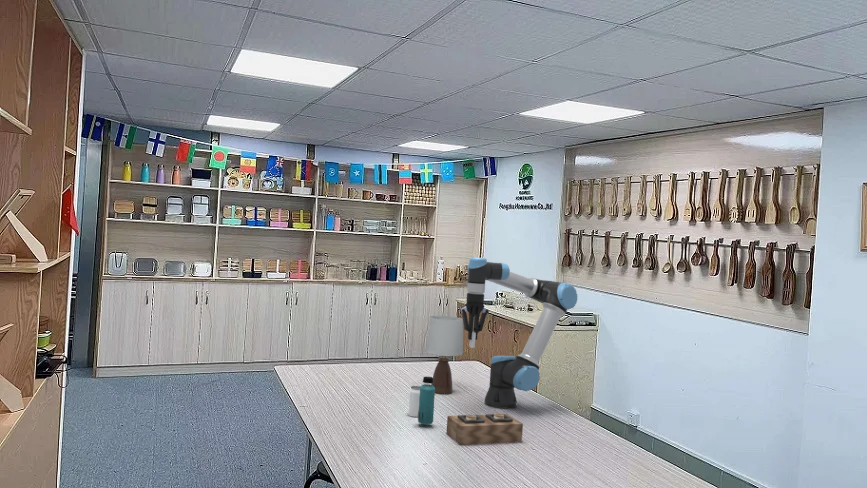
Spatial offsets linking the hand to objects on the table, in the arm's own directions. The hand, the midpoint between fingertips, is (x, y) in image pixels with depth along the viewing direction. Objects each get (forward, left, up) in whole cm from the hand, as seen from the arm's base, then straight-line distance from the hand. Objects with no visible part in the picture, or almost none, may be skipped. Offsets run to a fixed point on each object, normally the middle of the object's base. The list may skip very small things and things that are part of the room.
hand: (471, 347), depth 284 cm
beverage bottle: (+23, +10, -31) cm, 40 cm away
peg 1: (+11, +28, -30) cm, 42 cm away
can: (+22, -5, -31) cm, 38 cm away
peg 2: (-1, +28, -30) cm, 41 cm away
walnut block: (+5, +28, -30) cm, 42 cm away
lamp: (-5, -44, -31) cm, 54 cm away
